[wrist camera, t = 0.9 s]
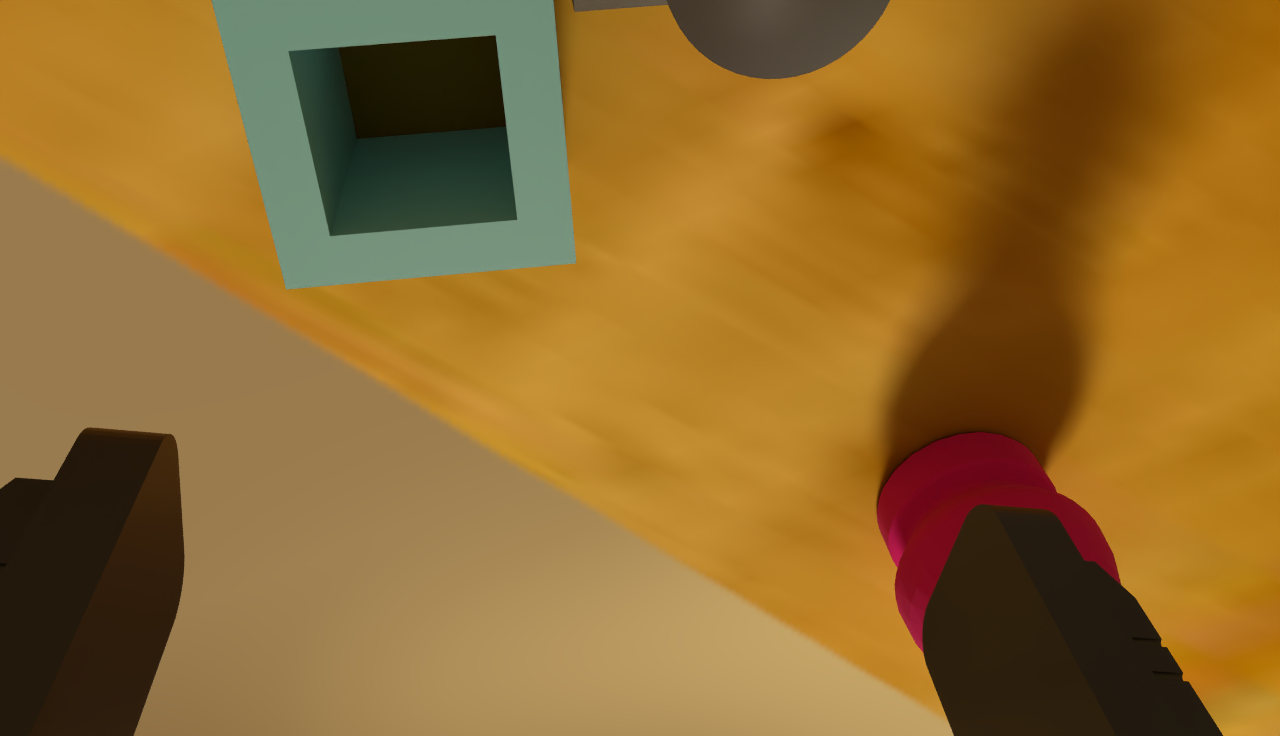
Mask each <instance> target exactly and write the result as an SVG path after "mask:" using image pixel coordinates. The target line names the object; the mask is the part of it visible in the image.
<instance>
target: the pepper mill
mask: <svg viewBox="0 0 1280 736" xmlns="http://www.w3.org/2000/svg"><path fill="white" fill-rule="evenodd" d="M980 504H987V505H999V506H1011V507H1023V508H1035V509H1045V510H1049V511H1051V512H1053V513H1054V514H1055V515H1056V516H1057V517H1058V518H1059V520H1060V521H1061V523H1062V524H1063V526H1064V528H1065V529H1066V531H1067V533H1068V534H1069V536H1070V537H1071V539H1072V541H1073V542H1074V544H1075V546H1076V547H1077V549H1078V551H1079V552H1080V554H1081V556H1082V557H1083V559H1084V560H1085V561H1095V562H1096V563H1097V564H1098V565H1099V566H1101V567H1102V568H1103V569H1104V570H1105V571H1106V572H1107V573H1108V574H1109V575H1110V576H1112V577H1113V578H1114V579H1115V580H1116V581H1117V582H1118V583H1119V584H1120V585H1121V583H1120V579H1119V574H1118V570H1117V566H1116V562H1115V559H1114V555H1113V552H1112V551H1111V549H1110V547H1109V545H1108V543H1107V541H1106V539H1105V537H1104V535H1103V533H1102V532H1101V530H1100V528H1099V526H1098V525H1097V523H1096V522H1095V520H1094V519H1093V518H1092V517H1091V516H1090V515H1089V513H1088V512H1087V511H1086V510H1085V509H1083V508H1082V507H1081V506H1079V505H1078V504H1077V503H1076V502H1074V501H1073V500H1071V499H1069V498H1067V497H1066V496H1064V495H1062V494H1059V493H1057V492H1056V489H1055V487H1054V485H1053V483H1052V482H1051V480H1050V479H1049V477H1048V476H1047V474H1046V473H1045V471H1044V470H1043V468H1042V467H1041V465H1040V464H1039V462H1038V460H1037V459H1036V457H1035V456H1034V455H1033V454H1032V452H1031V451H1030V450H1029V449H1028V448H1027V447H1025V446H1024V445H1023V444H1021V443H1020V442H1018V441H1015V440H1013V439H1011V438H1008V437H1006V436H1003V435H999V434H992V433H985V432H975V433H965V434H958V435H954V436H951V437H948V438H944V439H941V440H938V441H935V442H933V443H931V444H930V445H928V446H926V447H924V448H922V449H921V450H919V451H917V452H915V453H914V454H912V455H911V456H910V457H909V458H908V459H906V460H905V461H904V462H903V463H902V464H901V465H900V466H899V467H898V468H897V469H896V470H895V471H894V472H893V474H892V475H891V477H890V478H889V480H888V481H887V483H886V484H885V486H884V487H883V490H882V492H881V495H880V499H879V502H878V509H877V520H878V525H879V529H880V531H881V534H882V536H883V538H884V541H885V543H886V545H887V548H888V550H889V552H890V555H891V557H892V559H893V561H894V563H895V565H896V566H897V567H898V569H897V572H896V579H895V594H896V601H897V605H898V609H899V612H900V614H901V616H902V618H903V620H904V622H905V624H906V626H907V628H908V630H909V632H910V633H911V635H912V637H913V639H914V641H915V643H916V644H917V645H918V647H919V648H920V649H921V650H922V652H923V642H922V629H923V620H924V615H925V611H926V607H927V605H928V602H929V600H930V597H931V595H932V593H933V591H934V588H935V586H936V584H937V582H938V579H939V577H940V575H941V572H942V570H943V568H944V566H945V563H946V561H947V559H948V556H949V554H950V552H951V550H952V547H953V545H954V543H955V540H956V538H957V536H958V534H959V531H960V529H961V527H962V524H963V522H964V520H965V518H966V516H967V514H968V513H969V512H970V510H971V509H973V508H974V507H975V506H977V505H980ZM923 653H924V652H923Z"/></svg>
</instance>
